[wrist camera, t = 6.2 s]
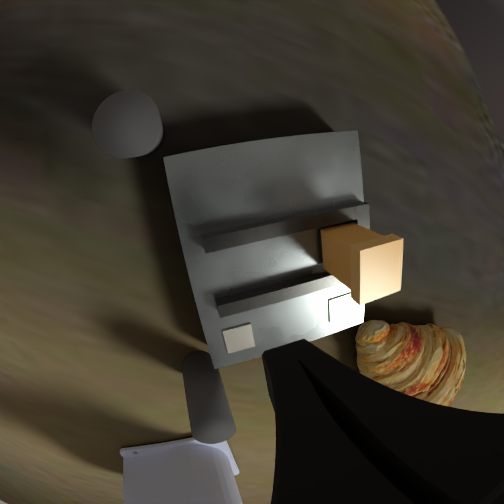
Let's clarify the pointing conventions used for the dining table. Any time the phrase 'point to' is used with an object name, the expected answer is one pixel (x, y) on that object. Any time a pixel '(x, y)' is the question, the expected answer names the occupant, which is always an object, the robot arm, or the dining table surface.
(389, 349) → the croissant
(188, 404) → the cylinder
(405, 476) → the robot arm
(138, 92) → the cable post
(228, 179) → the panel
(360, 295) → the switch knob
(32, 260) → the dining table surface
